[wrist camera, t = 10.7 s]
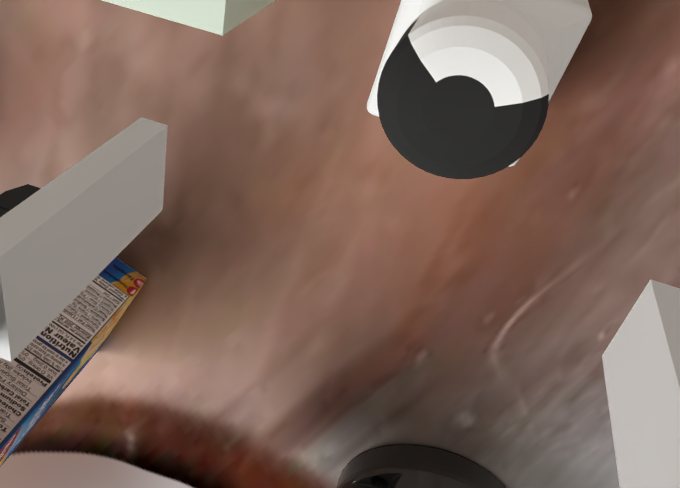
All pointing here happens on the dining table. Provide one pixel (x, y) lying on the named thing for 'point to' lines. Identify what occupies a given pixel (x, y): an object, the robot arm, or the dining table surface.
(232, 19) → the sage carton
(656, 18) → the dining table surface
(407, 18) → the medicine bottle
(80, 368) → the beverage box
